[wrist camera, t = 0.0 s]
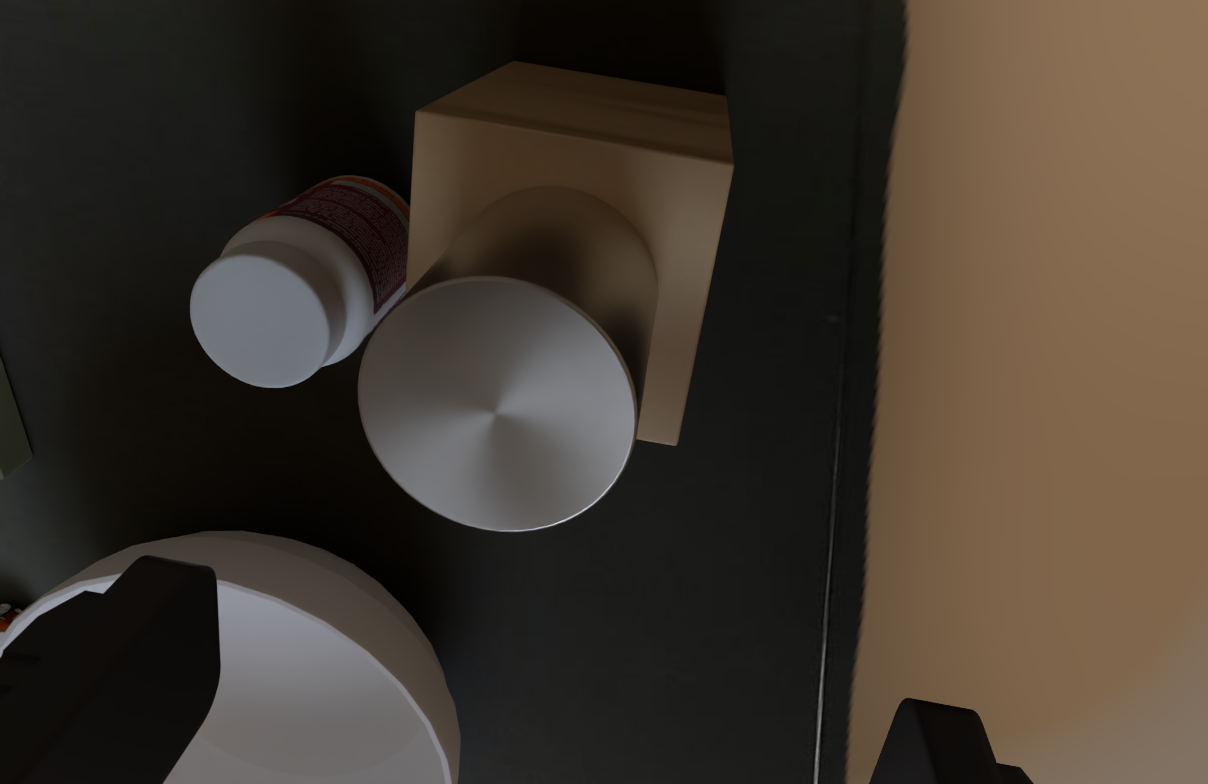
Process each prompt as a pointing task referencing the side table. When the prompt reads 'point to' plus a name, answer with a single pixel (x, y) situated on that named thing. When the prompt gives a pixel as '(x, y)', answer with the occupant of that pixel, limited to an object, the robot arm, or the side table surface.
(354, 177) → the pill bottle
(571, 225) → the spice tin
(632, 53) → the side table surface
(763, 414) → the side table surface
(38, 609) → the bowl
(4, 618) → the toy car
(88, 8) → the side table surface
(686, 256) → the block
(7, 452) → the green board with knob
